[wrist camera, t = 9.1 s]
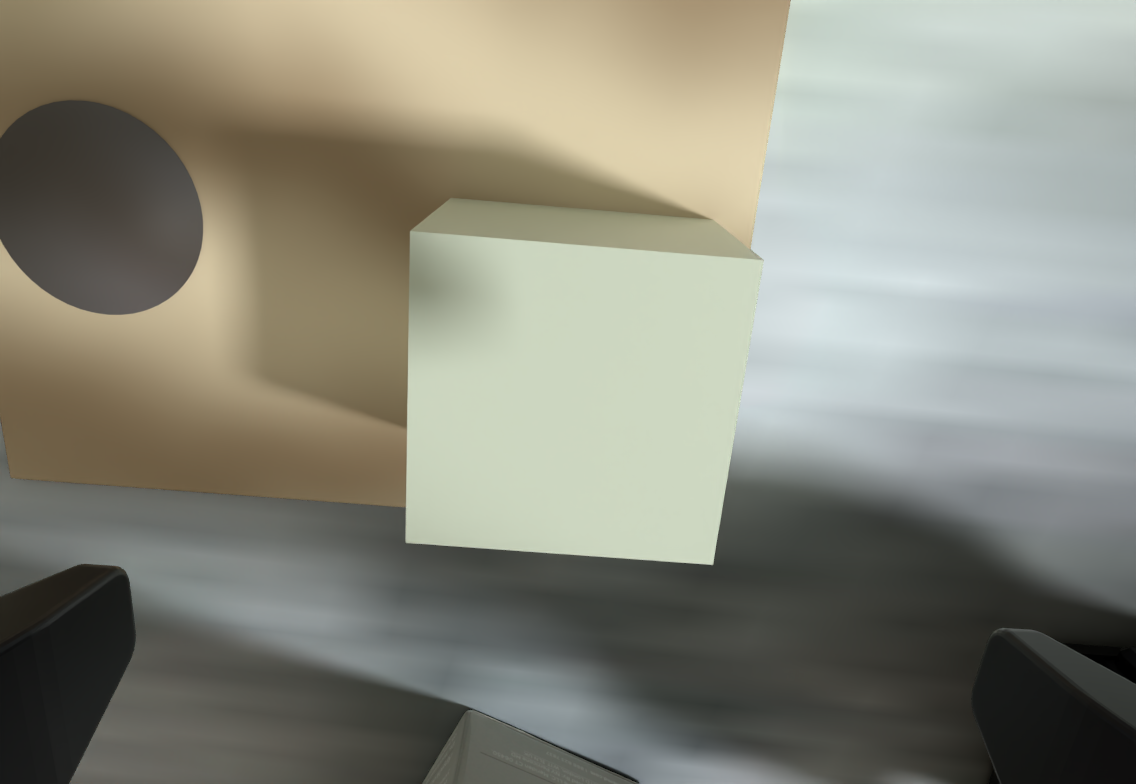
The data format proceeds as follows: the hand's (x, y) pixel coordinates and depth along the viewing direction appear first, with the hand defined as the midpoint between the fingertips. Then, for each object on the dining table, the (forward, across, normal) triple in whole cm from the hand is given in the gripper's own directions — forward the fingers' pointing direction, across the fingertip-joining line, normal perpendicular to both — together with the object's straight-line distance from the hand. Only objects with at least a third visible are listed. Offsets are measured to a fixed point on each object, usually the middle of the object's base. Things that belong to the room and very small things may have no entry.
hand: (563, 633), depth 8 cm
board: (+12, +5, -3) cm, 13 cm away
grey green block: (+12, 0, 0) cm, 12 cm away
